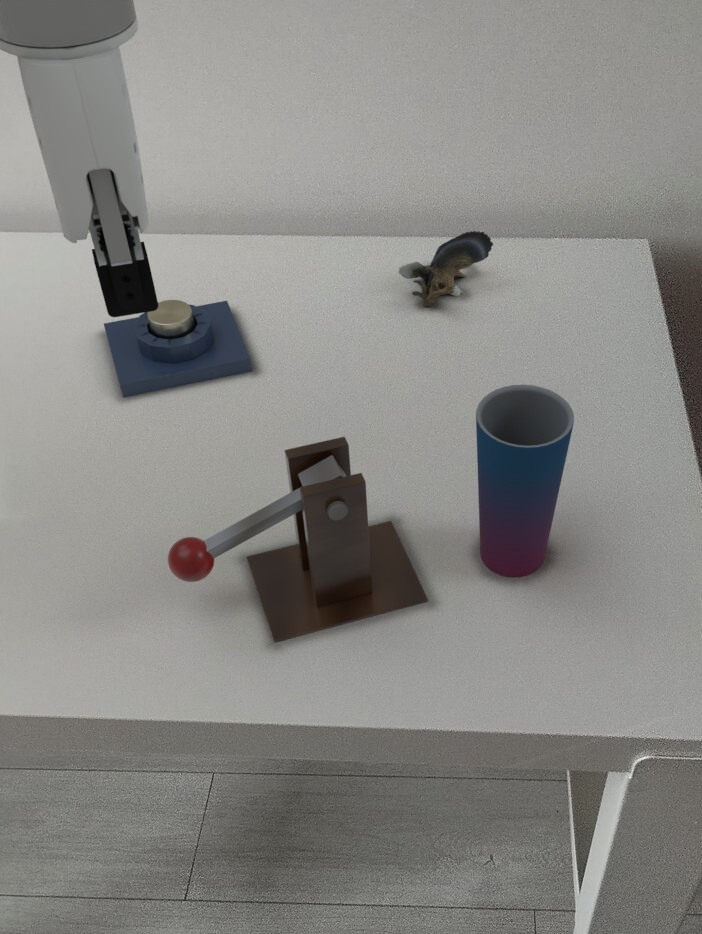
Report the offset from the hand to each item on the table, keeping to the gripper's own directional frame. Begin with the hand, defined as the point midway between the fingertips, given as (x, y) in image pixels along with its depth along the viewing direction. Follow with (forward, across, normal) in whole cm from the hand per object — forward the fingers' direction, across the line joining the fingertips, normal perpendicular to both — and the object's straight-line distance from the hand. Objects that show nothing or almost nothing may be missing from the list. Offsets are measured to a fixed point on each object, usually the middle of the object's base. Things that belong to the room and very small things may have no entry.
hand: (132, 306), depth 68 cm
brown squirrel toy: (+22, -27, +31) cm, 47 cm away
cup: (+22, +10, +24) cm, 34 cm away
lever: (+15, +9, +5) cm, 18 cm away
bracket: (+22, +8, +10) cm, 26 cm away
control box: (+22, -24, +3) cm, 33 cm away
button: (+18, -24, +3) cm, 31 cm away
